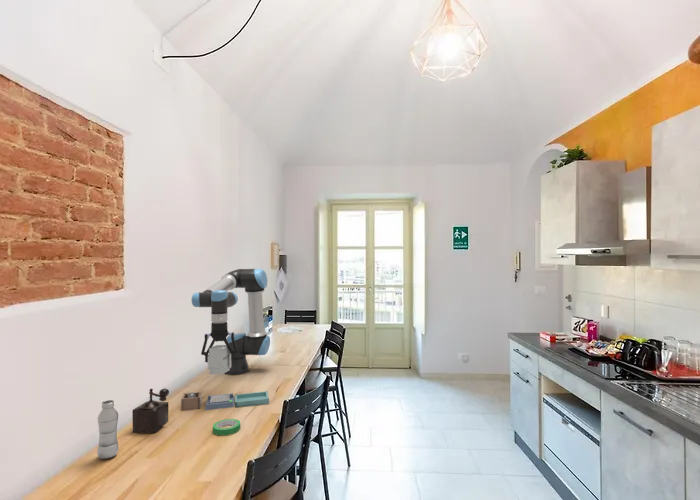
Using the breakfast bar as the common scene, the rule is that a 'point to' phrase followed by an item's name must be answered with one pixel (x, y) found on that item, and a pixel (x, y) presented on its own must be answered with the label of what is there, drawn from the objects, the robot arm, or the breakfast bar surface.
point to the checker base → (219, 405)
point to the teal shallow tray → (251, 399)
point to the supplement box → (219, 359)
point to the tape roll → (226, 431)
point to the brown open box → (191, 402)
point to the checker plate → (220, 398)
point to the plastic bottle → (107, 431)
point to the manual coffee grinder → (151, 414)
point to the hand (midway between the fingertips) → (219, 367)
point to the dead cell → (191, 395)
